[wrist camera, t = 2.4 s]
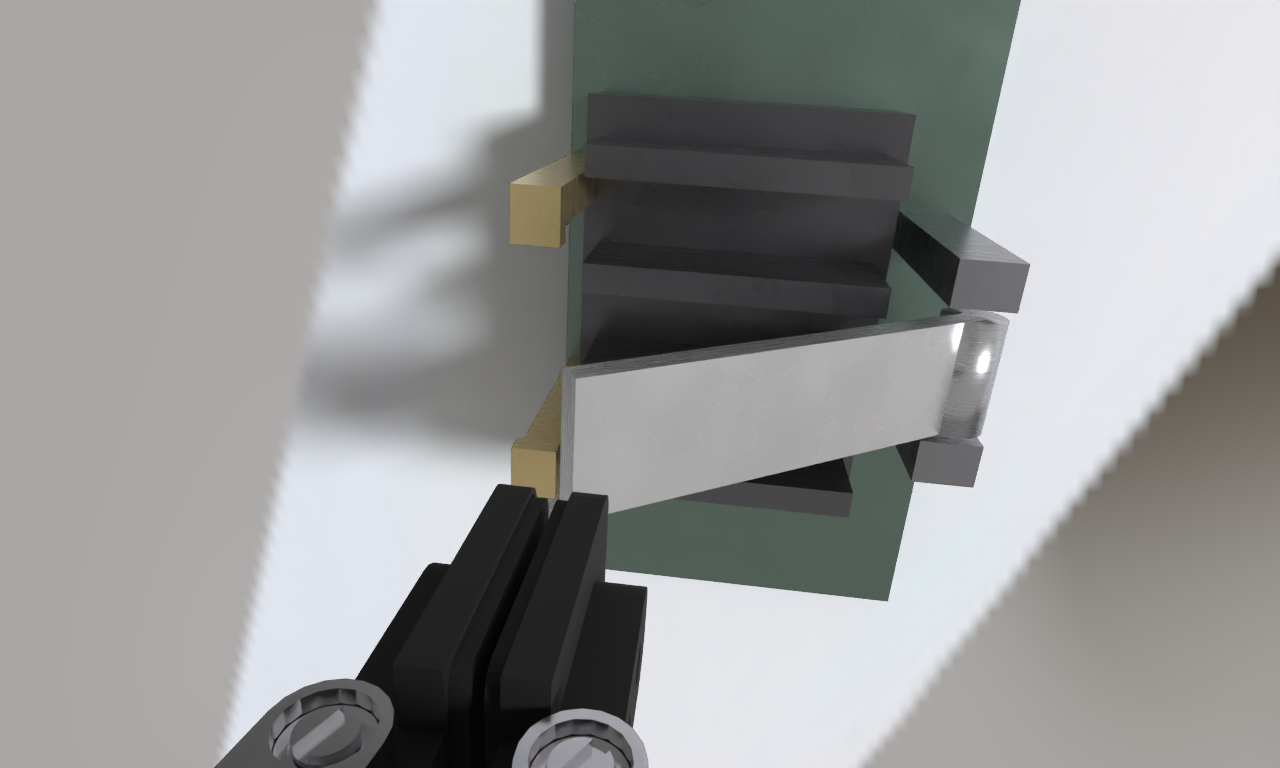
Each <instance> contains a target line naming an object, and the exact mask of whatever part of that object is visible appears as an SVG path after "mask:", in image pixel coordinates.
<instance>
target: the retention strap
mask: <svg viewBox="0 0 1280 768" xmlns="http://www.w3.org/2000/svg"><path fill="white" fill-rule="evenodd" d="M1008 326H1009V320H1008V319H1007V318H1005V317H1003V316H1001V315H999V314H996V313H993V312H989V311H984V310H972V309H960V308H950V307H949V308H944V309H942V310H941V312H940V316H939V317H931V318H924V319H917V320H909V321H902V322H894V323H887V324H880V325H872V326H865V327H858V328H850V329H843V330H835V331H828V332H821V333H813V334H806V335H798V336H791V337H784V338H776V339H769V340H762V341H754V342H747V343H739V344H732V345H725V346H717V347H710V348H702V349H695V350H688V351H680V352H673V353H666V354H658V355H651V356H643V357H636V358H629V359H621V360H614V361H607V362H599V363H592V364H584V365H577V366H570V367H562V411H561V457H560V500H569V497H570V495H571V493H572V492H582V493H591V494H601V495H608V498H609V509H608V514H610V513H614V512H618V511H622V510H626V509H630V508H635V507H639V506H643V505H647V504H651V503H656V502H660V501H664V500H668V499H672V498H676V497H681V496H685V495H689V494H693V493H697V492H701V491H706V490H710V489H714V488H718V487H722V486H726V485H731V484H735V483H739V482H743V481H747V480H752V479H756V478H760V477H764V476H768V475H772V474H777V473H781V472H785V471H789V470H793V469H797V468H802V467H806V466H810V465H814V464H818V463H823V462H827V461H831V460H835V459H839V458H843V457H848V456H852V455H856V454H860V453H864V452H868V451H873V450H877V449H881V448H885V447H889V446H893V445H898V444H902V443H906V442H910V441H914V440H919V439H923V438H927V437H931V436H935V435H942V436H945V437H950V438H957V439H971V438H976V437H978V436H980V435H981V433H982V429H983V425H984V421H985V417H986V413H987V409H988V405H989V401H990V397H991V393H992V389H993V385H994V381H995V377H996V373H997V369H998V365H999V362H1000V358H1001V354H1002V350H1003V346H1004V342H1005V338H1006V334H1007V330H1008Z"/></svg>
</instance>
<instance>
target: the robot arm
mask: <svg viewBox="0 0 1280 768" xmlns="http://www.w3.org/2000/svg"><path fill="white" fill-rule="evenodd" d="M608 509H609V498H608V495H601V494H591V493H582V492H572V493H571V495H570V497H569V500H557V501H556V503H555V505H554V508H553V510H552V512H551V515H550V517H549V520H548V499H547V498H539V497H537V493H536V489H535V488H534V487H525V486H515V485H506V484H498V485H497V486H496V488H495V490H494V491H493V493H492V495H491V496H490V498H489V500H488V502H487V503H486V505H485V507H484V508H483V510H482V512H481V514H480V515H479V517H478V519H477V520H476V522H475V524H474V526H473V527H472V529H471V531H470V532H469V534H468V536H467V538H466V539H465V541H464V543H463V544H462V546H461V548H460V550H459V551H458V553H457V555H456V556H455V558H454V560H453V562H452V563H451V565H450V564H441V563H432V564H429V565H428V566H427V568H426V569H425V570H424V571H423V573H422V575H421V576H420V578H419V579H418V581H417V582H416V584H415V586H414V587H413V589H412V590H411V592H410V594H409V595H408V597H407V598H406V600H405V601H404V603H403V605H402V606H401V608H400V609H399V611H398V613H397V614H396V616H395V617H394V619H393V620H392V622H391V624H390V625H389V627H388V628H387V630H386V632H385V633H384V635H383V636H382V638H381V639H380V641H379V643H378V644H377V646H376V647H375V649H374V650H373V652H372V654H371V655H370V657H369V658H368V660H367V662H366V663H365V665H364V666H363V668H362V669H361V671H360V673H359V674H358V676H357V677H356V679H355V680H353V679H336V680H326V681H322V682H319V683H315V684H312V685H309V686H306V687H303V688H301V689H299V690H297V691H296V692H294V693H292V694H290V695H288V696H286V697H284V698H283V699H282V700H281V701H280V702H278V703H277V704H276V705H275V706H274V707H272V708H271V709H270V710H269V711H268V712H267V713H266V714H265V715H264V716H263V717H262V718H261V719H260V720H259V721H258V722H257V723H256V724H255V725H254V726H253V727H252V729H251V730H250V731H249V732H248V733H247V734H246V735H245V736H244V737H243V738H242V739H241V740H240V741H239V742H238V743H237V744H236V745H235V746H234V747H233V748H232V749H231V750H230V752H229V753H228V754H227V755H226V756H225V757H224V758H223V759H222V760H221V761H220V762H219V763H218V764H217V765H216V766H215V767H214V768H649V767H648V758H647V754H646V750H645V746H644V743H643V742H642V740H641V739H640V737H639V736H638V734H637V733H636V732H635V730H634V729H633V722H634V715H635V708H636V701H637V694H638V687H639V680H640V671H641V663H642V653H643V643H644V632H645V619H646V606H647V587H643V586H634V585H626V584H617V583H608V582H605V567H606V547H607V528H608Z"/></svg>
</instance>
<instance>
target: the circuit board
mask: <svg viewBox="0 0 1280 768" xmlns="http://www.w3.org/2000/svg"><path fill="white" fill-rule="evenodd" d="M1020 1H1021V0H575V19H574V61H573V103H572V145H571V154H569V155H567V156H565V157H563V158H561V159H559V160H556V161H554V162H552V163H550V164H548V165H546V166H544V167H542V168H540V169H538V170H536V171H534V172H532V173H530V174H528V175H525V176H523V177H521V178H519V179H517V180H515V181H513V182H511V183H509V187H510V244H518V245H530V246H542V247H555V248H560V247H561V246H562V245H563V244H564V243H565V226H566V225H567V224H568V223H569V222H570V229H569V271H568V313H567V355H566V365H565V367H570V366H577V365H584V364H592V363H599V362H607V361H614V360H621V359H629V358H636V357H643V356H651V355H658V354H666V353H673V352H680V351H688V350H695V349H702V348H710V347H717V346H725V345H732V344H739V343H747V342H754V341H762V340H769V339H776V338H784V337H791V336H798V335H806V334H813V333H821V332H828V331H835V330H843V329H850V328H858V327H865V326H872V325H880V324H887V323H894V322H902V321H909V320H917V319H924V318H931V317H939V316H940V312H941V310H942V309H944V308H949V307H950V308H960V309H972V310H984V311H996V312H1008V313H1018V310H1019V306H1020V302H1021V299H1022V295H1023V291H1024V287H1025V283H1026V279H1027V275H1028V271H1029V267H1030V264H1029V263H1027V262H1026V261H1024V260H1022V259H1021V258H1019V257H1018V256H1016V255H1014V254H1013V253H1011V252H1010V251H1008V250H1006V249H1005V248H1003V247H1002V246H1000V245H998V244H997V243H995V242H993V241H992V240H990V239H989V238H987V237H985V236H984V235H982V234H981V233H979V232H977V231H976V230H974V229H972V228H971V223H972V218H973V214H974V209H975V205H976V200H977V196H978V191H979V187H980V182H981V178H982V173H983V169H984V164H985V160H986V155H987V151H988V146H989V142H990V137H991V132H992V128H993V123H994V119H995V114H996V110H997V105H998V101H999V96H1000V92H1001V87H1002V83H1003V78H1004V74H1005V69H1006V65H1007V60H1008V56H1009V51H1010V47H1011V42H1012V38H1013V33H1014V29H1015V24H1016V20H1017V15H1018V11H1019V6H1020ZM561 411H562V372H561V374H560V376H559V378H558V379H557V381H556V383H555V385H554V386H553V388H552V390H551V392H550V393H549V395H548V397H547V399H546V400H545V402H544V404H543V406H542V408H541V409H540V411H539V413H538V415H537V416H536V418H535V420H534V422H533V423H532V425H531V427H530V429H529V430H528V432H527V434H526V436H525V438H524V439H523V438H516V440H515V442H514V444H513V445H512V447H511V485H515V486H525V487H534V488H535V489H536V493H537V497H543V498H552V499H555V498H556V495H557V493H558V490H559V488H560V457H561ZM982 451H983V445H982V444H981V443H980V441H979V440H978V438H977V437H976V438H971V439H957V438H950V437H945V436H942V435H935V436H931V437H927V438H923V439H919V440H914V441H910V442H906V443H902V444H898V445H893V446H889V447H885V448H881V449H877V450H873V451H868V452H864V453H860V454H856V455H852V456H848V457H843V458H839V459H835V460H831V461H827V462H823V463H818V464H814V465H810V466H806V467H802V468H797V469H793V470H789V471H785V472H781V473H777V474H772V475H768V476H764V477H760V478H756V479H752V480H747V481H743V482H739V483H735V484H731V485H726V486H722V487H718V488H714V489H710V490H706V491H701V492H697V493H693V494H689V495H685V496H681V497H676V498H672V499H668V500H664V501H660V502H656V503H651V504H647V505H643V506H639V507H635V508H630V509H626V510H622V511H618V512H614V513H610V514H608V528H607V547H606V567H605V569H609V570H618V571H627V572H635V573H644V574H653V575H662V576H670V577H679V578H688V579H697V580H705V581H714V582H723V583H732V584H740V585H749V586H758V587H767V588H775V589H784V590H793V591H802V592H810V593H819V594H828V595H837V596H845V597H854V598H863V599H871V600H880V601H888V598H889V593H890V589H891V584H892V580H893V575H894V571H895V566H896V562H897V557H898V553H899V548H900V544H901V539H902V534H903V530H904V525H905V521H906V516H907V512H908V507H909V503H910V498H911V494H912V489H913V485H914V482H924V483H933V484H943V485H953V486H963V487H973V486H974V483H975V479H976V475H977V471H978V467H979V463H980V459H981V455H982Z"/></svg>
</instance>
